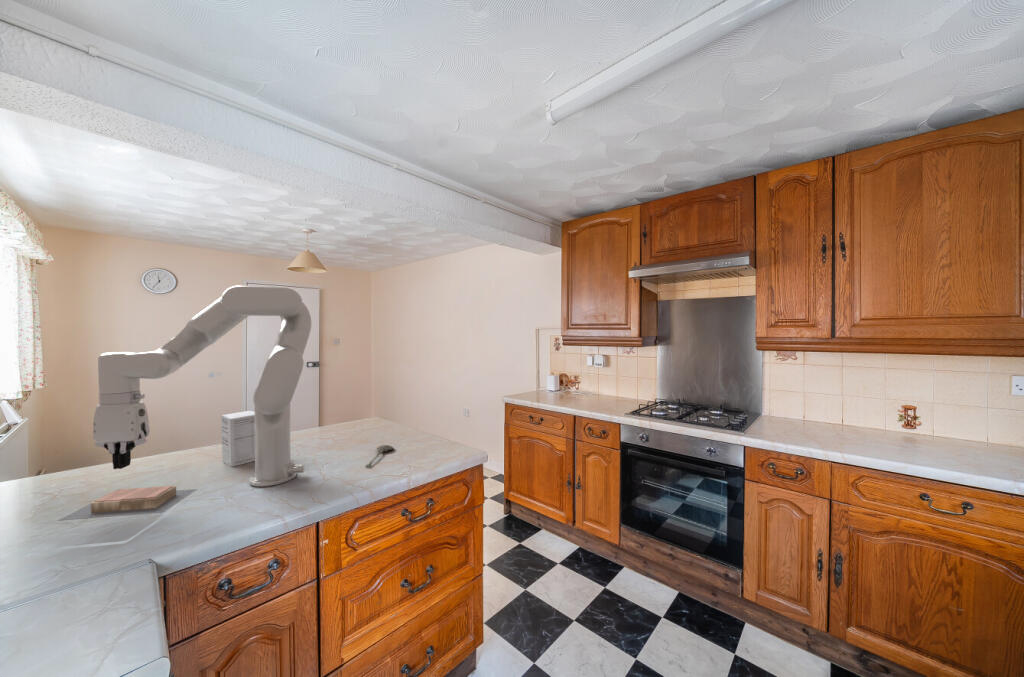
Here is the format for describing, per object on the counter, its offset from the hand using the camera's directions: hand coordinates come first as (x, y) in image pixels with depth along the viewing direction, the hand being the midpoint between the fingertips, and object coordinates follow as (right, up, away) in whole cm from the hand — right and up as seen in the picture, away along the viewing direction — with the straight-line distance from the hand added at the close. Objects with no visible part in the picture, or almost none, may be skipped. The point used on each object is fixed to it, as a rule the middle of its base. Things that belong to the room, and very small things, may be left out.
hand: (121, 467), depth 100 cm
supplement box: (+7, -10, +35) cm, 37 cm away
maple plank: (-4, -9, -1) cm, 10 cm away
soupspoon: (+54, -11, +40) cm, 68 cm away
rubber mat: (+2, -11, +1) cm, 11 cm away
